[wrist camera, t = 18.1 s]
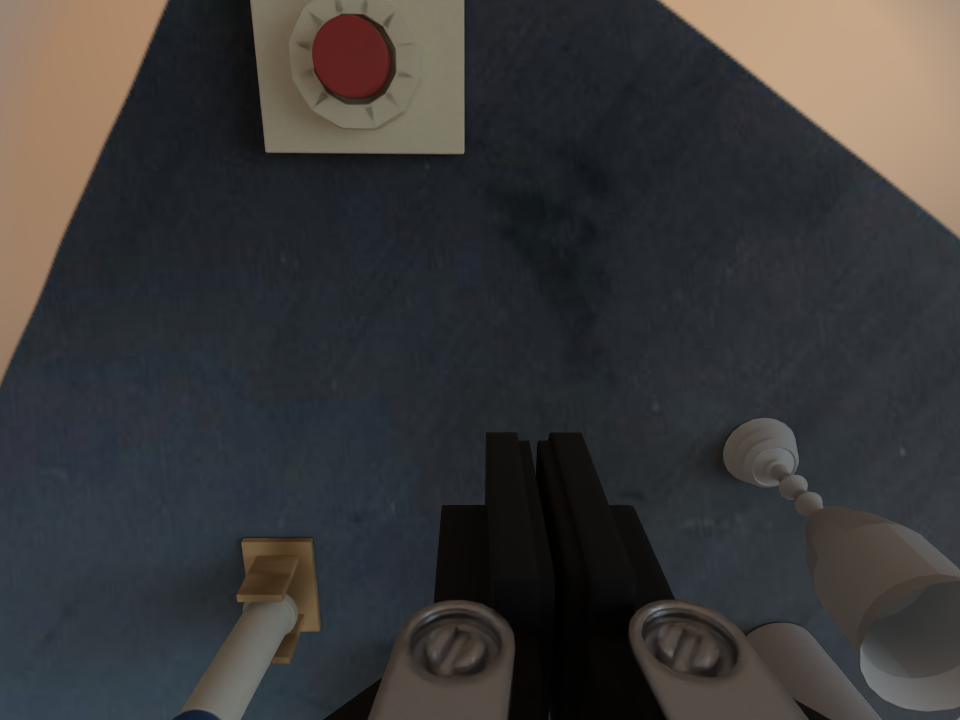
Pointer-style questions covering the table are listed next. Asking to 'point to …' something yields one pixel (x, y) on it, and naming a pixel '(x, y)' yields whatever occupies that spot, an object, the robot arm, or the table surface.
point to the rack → (282, 583)
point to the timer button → (351, 57)
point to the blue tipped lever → (241, 662)
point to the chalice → (868, 578)
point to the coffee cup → (809, 672)
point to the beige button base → (381, 117)
